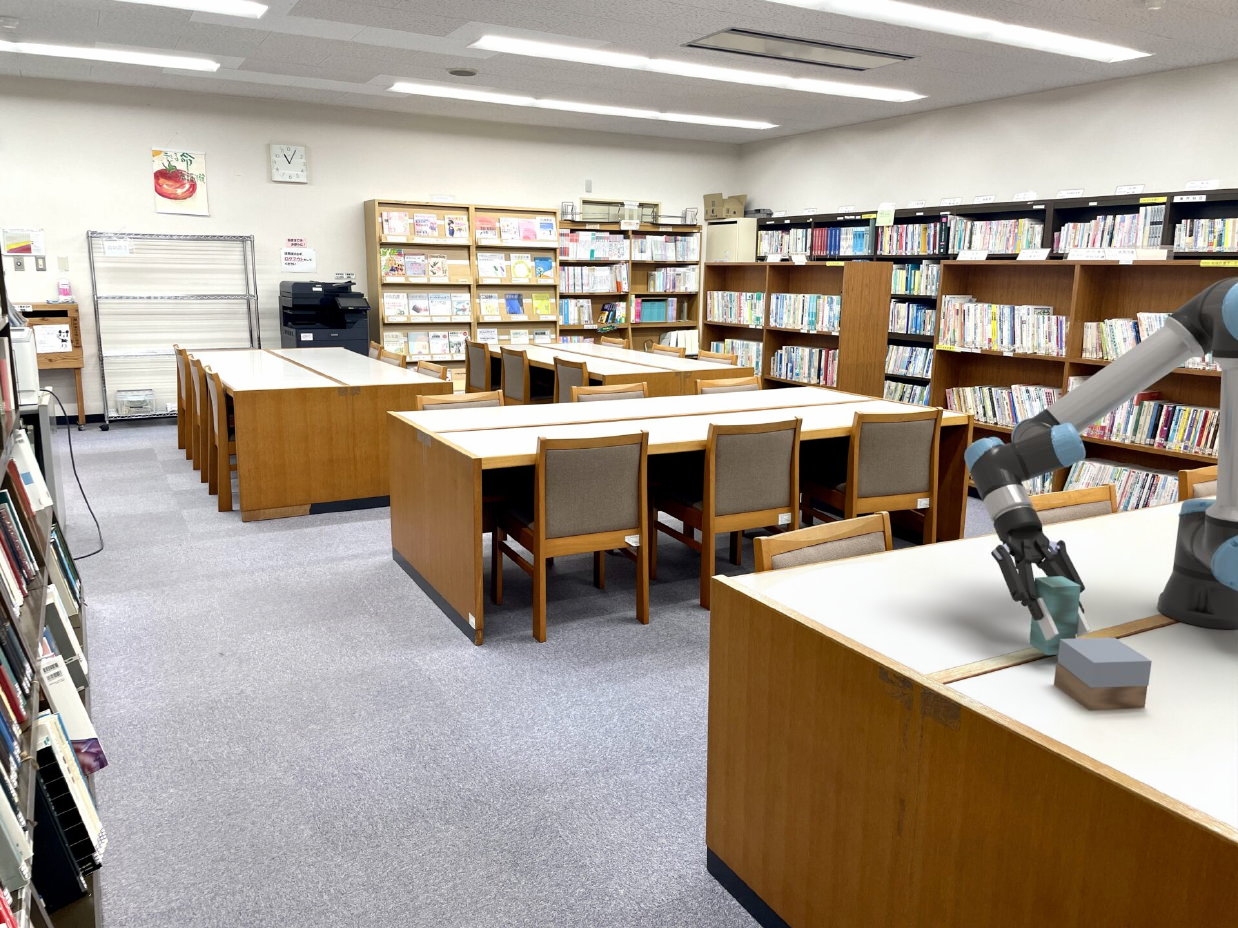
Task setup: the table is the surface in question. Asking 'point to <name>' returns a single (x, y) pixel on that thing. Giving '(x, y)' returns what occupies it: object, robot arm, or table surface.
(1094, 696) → the tower bottom
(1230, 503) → the robot arm
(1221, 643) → the table surface
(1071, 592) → the tall block
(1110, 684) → the tower top
